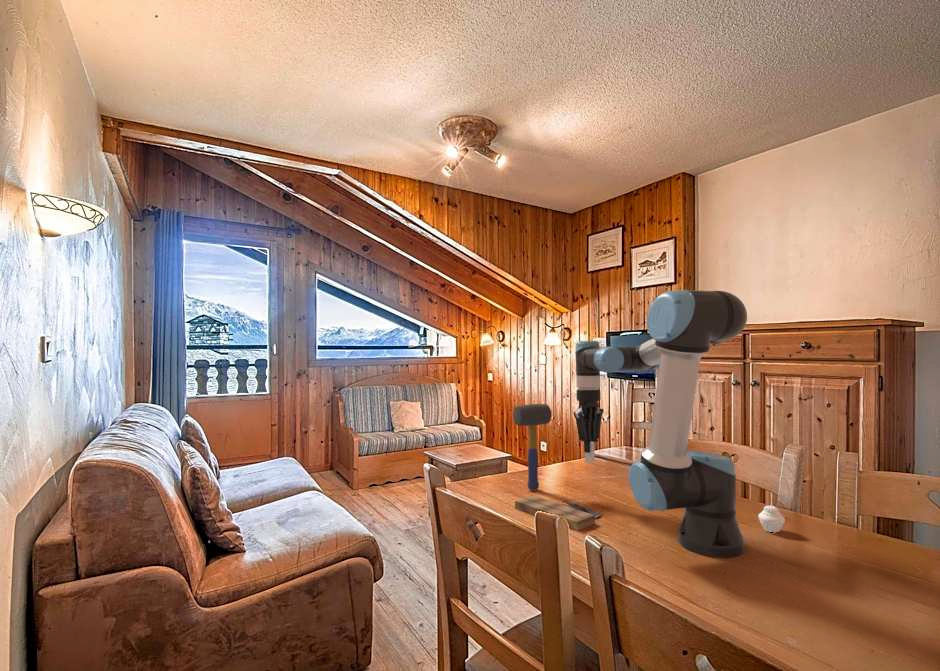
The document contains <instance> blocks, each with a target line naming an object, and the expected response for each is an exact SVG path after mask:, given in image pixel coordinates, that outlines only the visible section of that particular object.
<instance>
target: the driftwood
mask: <svg viewBox="0 0 940 671" xmlns="http://www.w3.org/2000/svg"><path fill="white" fill-rule="evenodd" d="M562 501H563V502H565V503H566V504H568V505H569V506H568V505H567V506H568V507H571V508H574V509H577V510H580V511H583V512H586V513H589V514H592V515H595V520H596V519H597V518H599V517H601V516H603V514H601V513H600V512H598V511H595V510H592V509H591V508H588V507H586V506H582V505H580V504H579V503H572V502H570V501H568V500H565V499H564V500H562Z"/></svg>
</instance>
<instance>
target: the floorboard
mask: <svg viewBox="0 0 940 671" xmlns="http://www.w3.org/2000/svg"><path fill="white" fill-rule="evenodd" d="M514 509H515V510H519V511H521V512H523V513H526V514H530V515H532V516H534V517H536V516H535V513H536V512H537V511H542V512H546V513H550V514H555V515H558V516H561V517H563V518H565V519H566V520H567V522H568V524H569V528H568V529H570V528H571V530H573V529H574V531H577V532H578V531H580V530H583V529H585V528H588V527H590V526H592V525H595V524H596V519H595V515H592V514H589V513H586V512H583V511H580V510H577V509H574V508H571V507H569V506H568V505H565V504H564V505H563V504H561V503H557V502H556V501H555V502H554V501H551V500H549V499H546V498H542V497H539V496H535V495H530V496H526V497H522V498H518V499H516V500H514Z"/></svg>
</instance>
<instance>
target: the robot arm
mask: <svg viewBox="0 0 940 671" xmlns="http://www.w3.org/2000/svg"><path fill="white" fill-rule="evenodd" d="M747 321H748V312H747V309H746V306H745V304H744V303H743V301H742V300H741V299H740V298H739V297H737V296H736V295H734V294H733V293H731V292H728V291H724V290H691V289H690V290H689V289H688V290H687V289H678V290H676V289H675V290H667V291H664V292H662V293H661V294H658V296H657V297H656V298H654V300H653V302H652V303H651V305H650V306H649V309H648V312H647V318H646V326H647V328H648V333H649V336H650V337H651V339H649V340H647V341H644V342H643V343H640V344H638V345H635V346H634V345H633V346H632V345H631V346H629V345H628V346H600V342H599V341H598V340H579V341H576V343H575V373H576V374H575V375H576V384H575V385H576V388H577V389H576V401H578V409H577V411H573V416H574V418H575V423H576V428H577V429H576V430H577V434H578V439H579V441H581V442H583V448H584V450H583V451H584V462H585V463H589V464H595V463H596V458H595V455H596V454H595V450H596V442H597V443H598V440H599V439H600V435H601V434H600V433H601V425H602V418H603V417H602V416H603V414H604V408H600V407H599V403H598V402H600V401H601V390H600V387H601V372H603V373H606V374H607V373H616V372H629V371H630V372H631V371H632V372H634V371H635V372H636V371H645V372H647V371H648V372H649V371H654V370H658V374H657V382H656V389H655V396H654V397H655V398H654V405H653V410H652V411H653V412H652V420H651V428H650V435H649V442H648V443H649V444H648V445H647V446H646V447H644V448H642V450H641V455H640V460H639V461H635V462H634V463H632V464H631V465H630V467H629V470H628V476H627V477H628V484H629V487H630V491H631V492H632V494H633V497H634V499H635V500H636V501H637V503H638V504H639V505H640V506H641V507H642V508H643V509H645V510H647V511H649V512H656V511H657V512H658V511H660V512H665V511H668V510H676V509H684V512H683V513H684V514H683V516H682V519H681V522H680V525H679V528H678V531H677V532H678V533H677V539H678V540H677V541H678V542H679V544H680V545H681V546H683V547H684V548H685V549H687V550H689V551H691V552H694V553H697V554H699V555H700V554H701V555H705V556H710V557H718V558H731V557H737V556H740V555H742V554H743V553H745V539H744V536H743V534H742V532H741V529H740V526H739V523H738V520H737V517H736V516H737V515H736V511H737V509H736V508H737V507H736V506H737V504H736V502H737V501H736V490H737V489H736V487H737V486H736V481H737V480H736V479H737V474H736V469H735V467H736V466H735V462H734V460H733V459H732V458H730V457H728V456H725V455H722V454H719V453H714V452H709V451H701V450H690V449H689V450H688V446H689V438H690V431H691V425H692V418H693V411H694V404H695V399H696V398H695V396H696V390H697V385H698V384H697V383H698V379H699V378H698V376H699V370H700V363H701V359H702V357H704V356H705V355H707V354H708V353H709V351H710V347H711V346H710V345H718V344H722V343H724V342H727V341H729V340H732V339H734V338H736V337H737V336H738V335H740V334H741V332H742V331H744V329H745V327H746V325H747Z"/></svg>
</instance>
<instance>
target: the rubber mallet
mask: <svg viewBox="0 0 940 671" xmlns="http://www.w3.org/2000/svg"><path fill="white" fill-rule="evenodd" d="M552 414H553V413H552V409H551V408H550V406H549V405H548V404H546V403H529V404H522V405H516V406H515V407H514V408H513V411H512V419H513V422H514V424H515V425H516V426H518V427H519V426H520V427H522V426H523V427H526V426H527V427H528V449H527V459H526V460H527V468H528V469H527V470H528V474H527V475H528V476H527V477H528V478H527V479H528V480H527V487H528V490H529V491H534V492H535V491H538V489H539V486H540V483H539V479H538V478H539V477H538V476H539V475H538V468H539V454H538V448H537V426H540V425H541V426H542V425H545V424H549V423H550V422H551V420H552Z"/></svg>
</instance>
